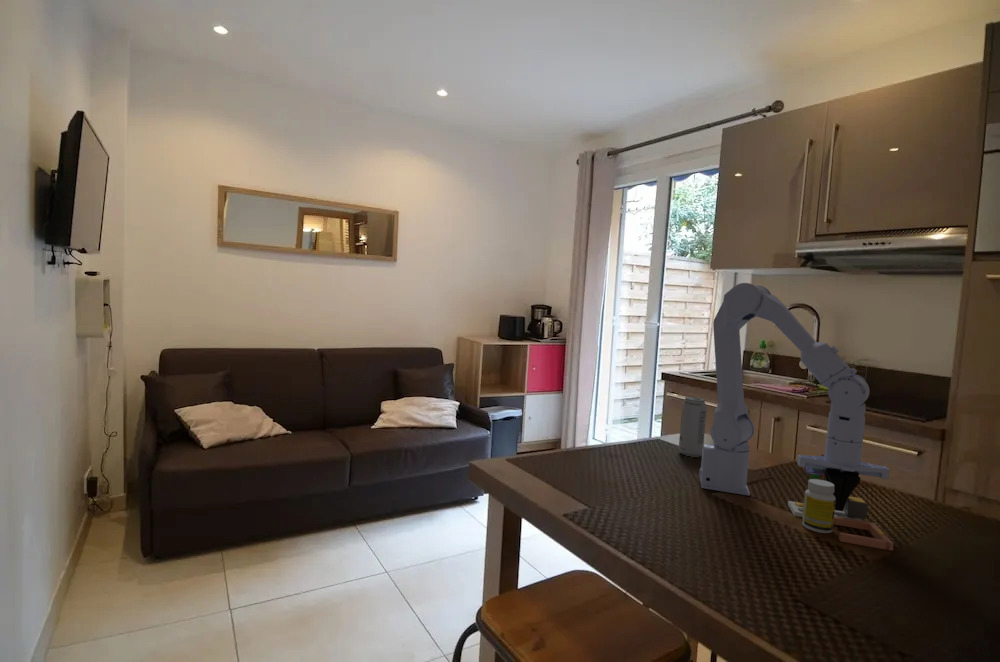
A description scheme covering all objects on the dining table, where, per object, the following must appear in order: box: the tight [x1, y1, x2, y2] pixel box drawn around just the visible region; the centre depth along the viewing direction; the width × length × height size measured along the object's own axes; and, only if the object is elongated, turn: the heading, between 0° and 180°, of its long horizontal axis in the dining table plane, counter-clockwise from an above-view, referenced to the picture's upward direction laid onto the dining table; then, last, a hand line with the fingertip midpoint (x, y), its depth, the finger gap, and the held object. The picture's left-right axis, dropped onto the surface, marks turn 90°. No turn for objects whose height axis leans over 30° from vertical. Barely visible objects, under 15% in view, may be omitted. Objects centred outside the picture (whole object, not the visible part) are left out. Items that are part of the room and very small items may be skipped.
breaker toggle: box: [843, 495, 869, 520], centre depth 97 cm, size 3×3×3 cm
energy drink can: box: [678, 396, 708, 458], centre depth 135 cm, size 6×6×15 cm
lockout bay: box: [833, 516, 894, 552], centre depth 91 cm, size 8×9×1 cm
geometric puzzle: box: [804, 453, 827, 481], centre depth 118 cm, size 7×7×8 cm
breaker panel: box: [787, 500, 864, 521], centre depth 99 cm, size 12×6×1 cm, turn 71°
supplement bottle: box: [801, 478, 836, 534], centre depth 92 cm, size 5×5×8 cm
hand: (837, 508), depth 98 cm, fingers closed
